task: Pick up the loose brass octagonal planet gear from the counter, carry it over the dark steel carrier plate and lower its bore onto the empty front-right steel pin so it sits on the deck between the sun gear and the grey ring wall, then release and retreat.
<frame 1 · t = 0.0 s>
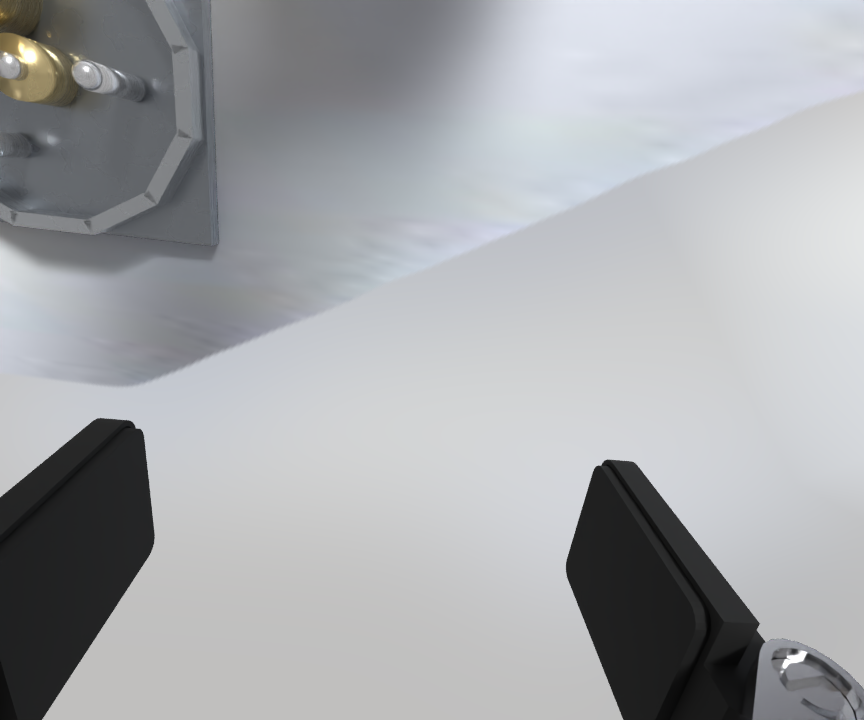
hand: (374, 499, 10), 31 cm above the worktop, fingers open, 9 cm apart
carrier: (64, 79, 33), on the worktop
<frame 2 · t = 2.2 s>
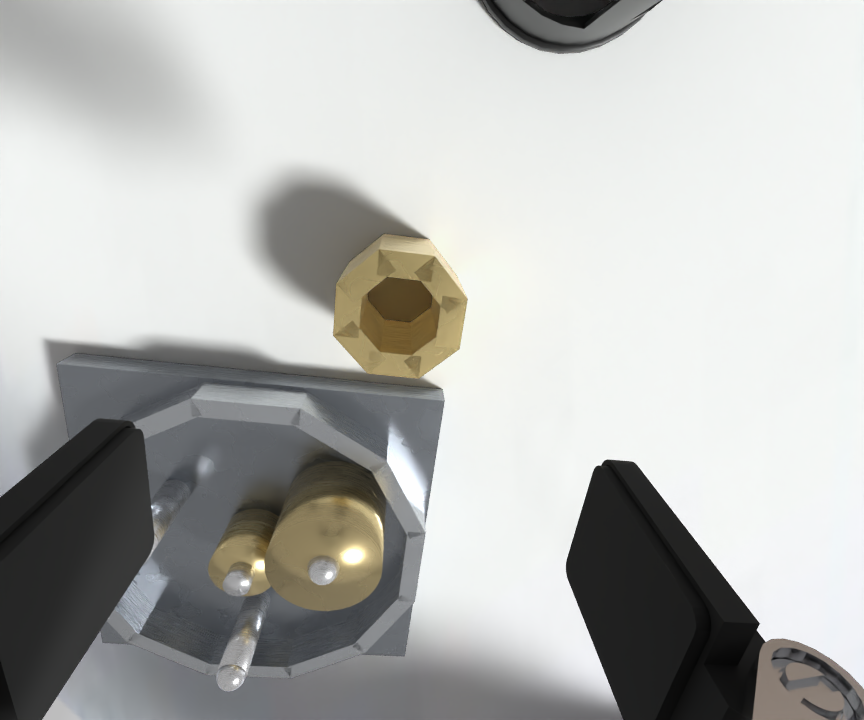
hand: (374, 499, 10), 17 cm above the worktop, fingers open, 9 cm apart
carrier: (264, 516, 30), on the worktop
planet gear: (400, 290, 25), on the worktop
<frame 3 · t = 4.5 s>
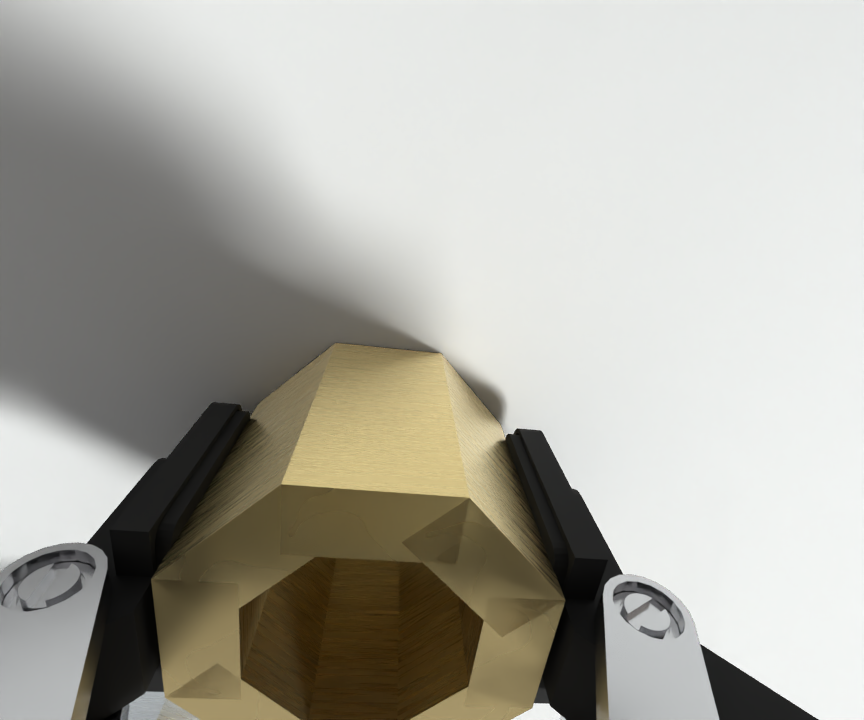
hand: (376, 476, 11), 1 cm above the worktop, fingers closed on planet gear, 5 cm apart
planet gear: (378, 456, 12), on the worktop, touching gripper
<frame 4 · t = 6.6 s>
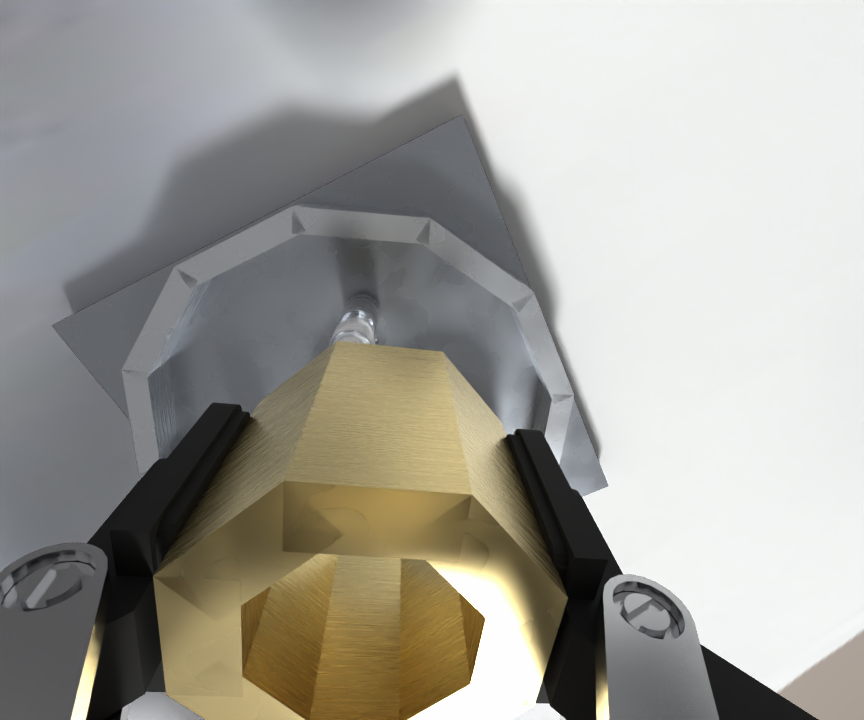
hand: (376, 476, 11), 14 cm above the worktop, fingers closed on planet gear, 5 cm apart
carrier: (361, 400, 25), on the worktop
planet gear: (379, 454, 12), point 13 cm above the worktop, touching gripper
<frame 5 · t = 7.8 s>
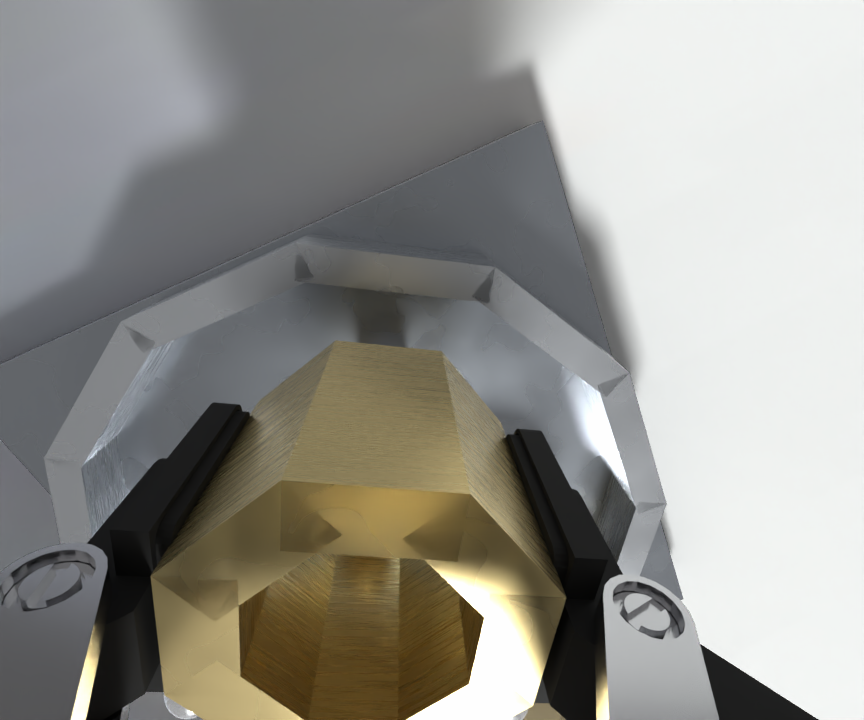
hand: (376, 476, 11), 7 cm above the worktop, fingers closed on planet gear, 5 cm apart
carrier: (374, 484, 19), on the worktop
planet gear: (378, 454, 12), point 6 cm above the worktop, touching gripper
when the fingers open (3 cm above the worktop, at t = 9.0 s): planet gear stays where it is, resting on carrier.
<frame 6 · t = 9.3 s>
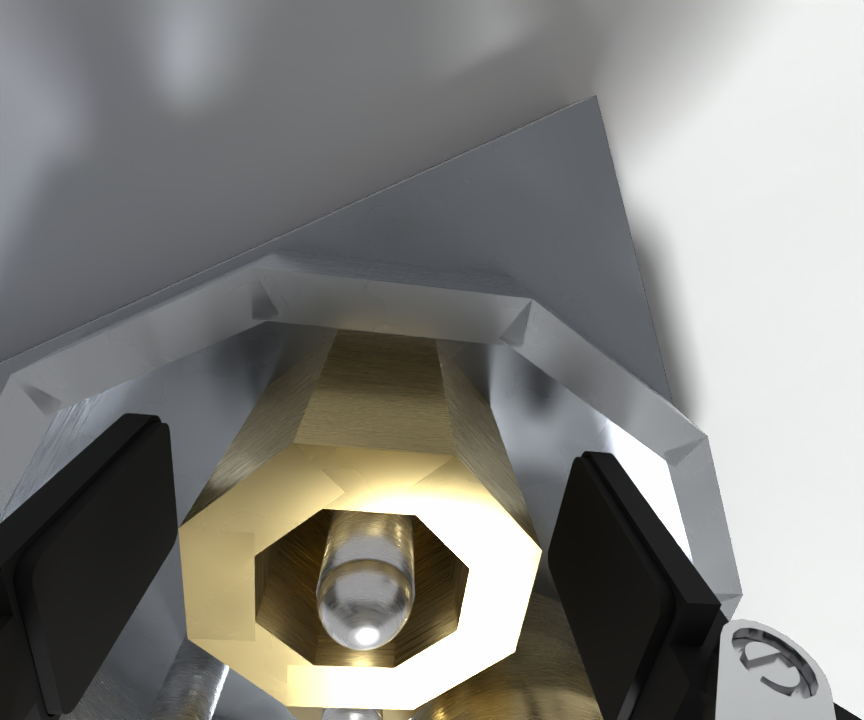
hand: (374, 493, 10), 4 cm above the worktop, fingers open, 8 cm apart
carrier: (368, 550, 16), on the worktop
planet gear: (377, 436, 12), point 1 cm above the worktop, touching carrier
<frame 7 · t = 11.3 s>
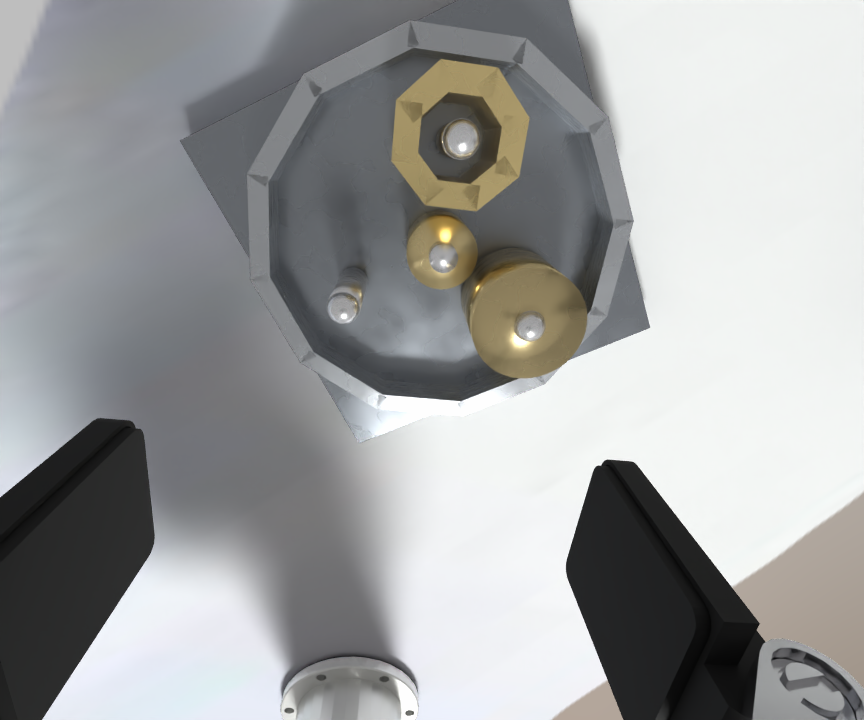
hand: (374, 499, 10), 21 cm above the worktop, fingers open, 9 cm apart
carrier: (437, 238, 28), on the worktop
planet gear: (449, 140, 25), point 1 cm above the worktop, touching carrier
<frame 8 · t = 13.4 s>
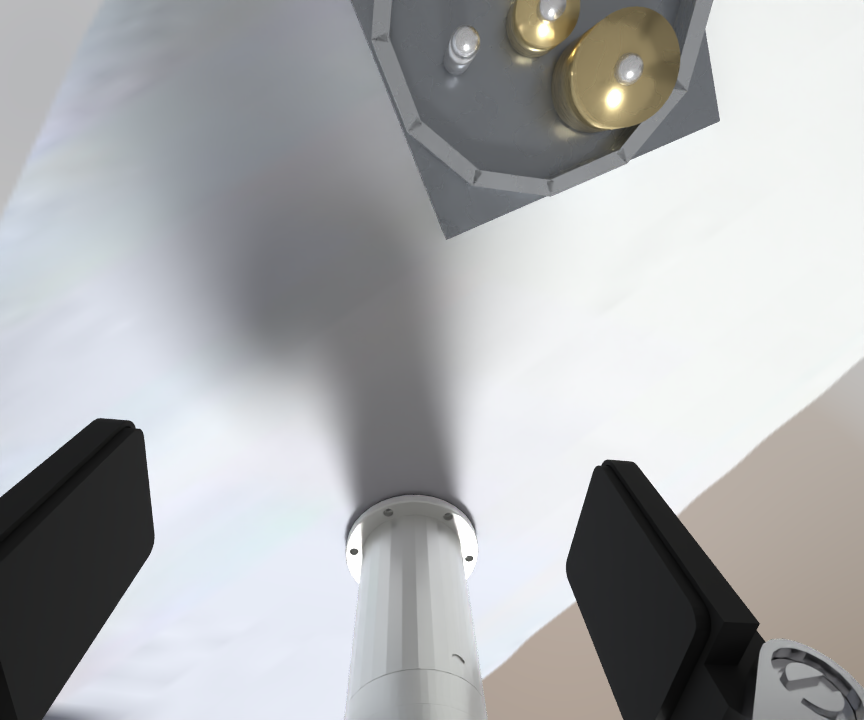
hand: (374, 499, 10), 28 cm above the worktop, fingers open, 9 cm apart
carrier: (529, 30, 31), on the worktop
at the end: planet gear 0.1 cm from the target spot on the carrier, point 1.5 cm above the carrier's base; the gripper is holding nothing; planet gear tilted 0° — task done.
